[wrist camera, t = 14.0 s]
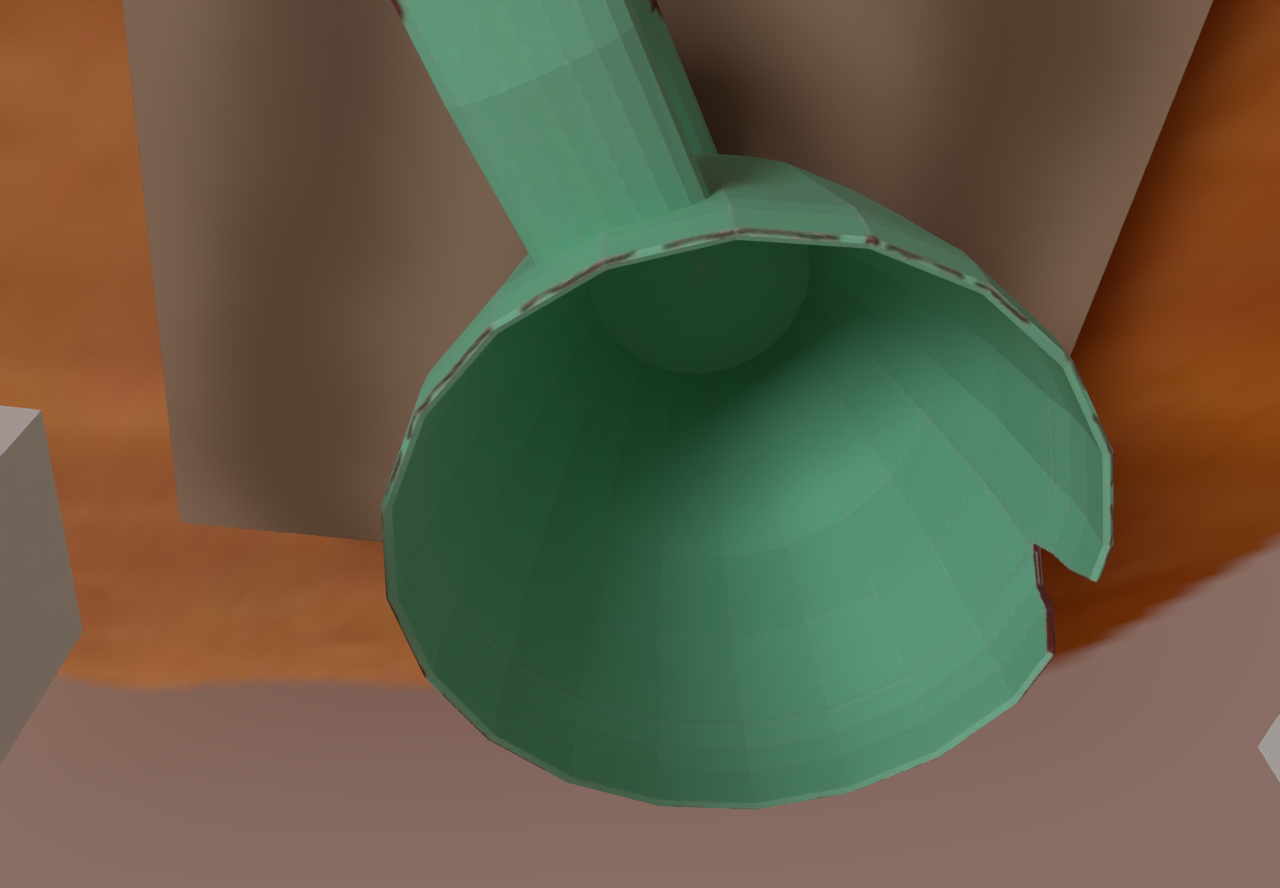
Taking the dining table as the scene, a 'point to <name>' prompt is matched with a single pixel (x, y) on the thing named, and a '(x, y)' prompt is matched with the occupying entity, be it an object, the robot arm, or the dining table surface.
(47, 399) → the dining table surface
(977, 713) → the mug
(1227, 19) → the dining table surface
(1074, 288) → the plinth
